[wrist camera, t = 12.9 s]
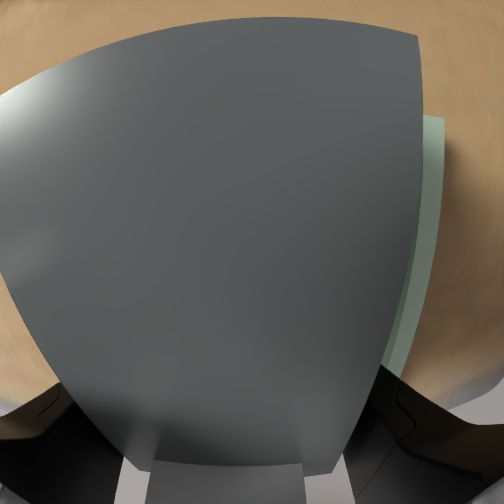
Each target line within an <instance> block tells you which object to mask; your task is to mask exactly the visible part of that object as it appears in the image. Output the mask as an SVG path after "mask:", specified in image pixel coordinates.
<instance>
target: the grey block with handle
mask: <svg viewBox="0 0 504 504" xmlns="http://www.w3.org/2000/svg"><path fill="white" fill-rule="evenodd" d="M422 149H423V90H422V74H421V62H420V52H419V43H418V36H416V35H412V34H409V33H405V32H401V31H396V30H392V29H387V28H382V27H377V26H372V25H366V24H360V23H353V22H346V21H338V20H328V19H316V18H297V17H259V18H240V19H228V20H218V21H210V22H203V23H196V24H190V25H184V26H178V27H173V28H168V29H164V30H159V31H155V32H150V33H146V34H143V35H139V36H135V37H132V38H128V39H125V40H121V41H118V42H115V43H112V44H109V45H106V46H103V47H100V48H97V49H95V50H92V51H89V52H87V53H84V54H81V55H79V56H77V57H74V58H72V59H69V60H67V61H65V62H63V63H60V64H58V65H56V66H54V67H52V68H50V69H48V70H46V71H43V72H41V73H40V74H38V75H36V76H34V77H32V78H30V79H28V80H26V81H25V82H23V83H21V84H19V85H17V86H16V87H14V88H12V89H11V90H9V91H7V92H6V93H4V94H3V95H1V96H0V271H1V274H2V276H3V279H4V281H5V283H6V286H7V288H8V290H9V292H10V295H11V297H12V299H13V301H14V303H15V305H16V307H17V309H18V311H19V313H20V315H21V317H22V319H23V321H24V323H25V325H26V327H27V329H28V330H29V332H30V334H31V336H32V338H33V339H34V341H35V343H36V344H37V346H38V348H39V349H40V351H41V353H42V354H43V356H44V357H45V359H46V361H47V362H48V364H49V365H50V367H51V368H52V370H53V371H54V373H55V374H56V376H57V377H58V379H59V380H60V381H61V383H62V384H63V386H64V387H65V388H66V390H67V391H68V392H69V394H70V395H71V396H72V398H73V399H74V400H75V402H76V403H77V404H78V405H79V407H80V408H81V409H82V410H83V412H84V413H85V414H86V415H87V417H88V418H89V419H90V420H91V421H92V422H93V424H94V425H95V426H96V427H97V428H98V429H99V430H100V432H101V433H102V434H103V435H104V436H105V437H106V438H107V439H108V440H109V441H110V442H111V443H112V444H113V445H114V447H115V448H116V449H117V450H118V451H119V452H120V453H121V454H122V455H123V456H124V457H126V458H127V459H128V460H129V461H130V462H131V463H132V464H133V465H134V466H135V467H136V468H137V469H138V470H140V471H146V472H151V473H150V478H149V483H148V489H147V495H146V500H145V504H306V494H305V485H304V477H306V476H314V475H321V474H328V473H332V471H333V469H334V467H335V466H336V464H337V462H338V460H339V458H340V456H341V454H342V452H343V450H344V449H345V447H346V445H347V443H348V441H349V438H350V436H351V434H352V432H353V430H354V428H355V426H356V424H357V421H358V419H359V417H360V415H361V412H362V410H363V408H364V405H365V403H366V401H367V398H368V396H369V393H370V391H371V388H372V386H373V383H374V380H375V378H376V375H377V372H378V370H379V367H380V364H381V361H382V358H383V355H384V352H385V349H386V346H387V343H388V340H389V337H390V334H391V330H392V327H393V323H394V320H395V316H396V313H397V309H398V305H399V302H400V298H401V294H402V290H403V285H404V281H405V277H406V272H407V267H408V262H409V257H410V252H411V247H412V241H413V235H414V229H415V222H416V215H417V208H418V199H419V190H420V180H421V167H422Z"/></svg>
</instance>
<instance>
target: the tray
mask: <svg viewBox="0 0 504 504" xmlns="http://www.w3.org/2000/svg"><path fill="white" fill-rule="evenodd" d="M444 146H445V137H444V118H440V117H434V116H429V115H423V149H422V167H421V180H420V190H419V199H418V208H417V215H416V222H415V229H414V235H413V241H412V247H411V252H410V257H409V262H408V267H407V272H406V277H405V281H404V285H403V290H402V294H401V298H400V302H399V305H398V309H397V313H396V316H395V320H394V323H393V327H392V330H391V334H390V337H389V340H388V343H387V346H386V349H385V352H384V355H383V358H382V361H381V364H382V365H383V366H384V367H386V368H387V369H388V370H390V371H391V372H392V373H393V374H395V375H396V376H397V377H398V378H400V376H401V373H402V371H403V368H404V365H405V363H406V360H407V357H408V354H409V351H410V348H411V345H412V342H413V339H414V336H415V332H416V329H417V326H418V322H419V319H420V315H421V312H422V308H423V304H424V300H425V296H426V292H427V288H428V283H429V279H430V274H431V269H432V264H433V259H434V253H435V248H436V242H437V235H438V228H439V220H440V212H441V203H442V191H443V177H444Z"/></svg>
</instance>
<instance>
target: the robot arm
mask: <svg viewBox="0 0 504 504" xmlns="http://www.w3.org/2000/svg"><path fill="white" fill-rule="evenodd" d="M342 453H343V456H344V460H345V464H346V468H347V471H348V475H349V479H350V483H351V487H352V491H353V495H354V499H355V504H504V424H495V425H494V424H493V425H476V424H471V423H468V422H466V421H463V420H462V419H460V418H458V417H457V416H455V415H453V414H451V413H450V412H448V411H446V410H445V409H443V408H441V407H440V406H438V405H437V404H435V403H433V402H432V401H430V400H429V399H427V398H426V397H424V396H422V395H421V394H420V393H418V392H417V391H415V390H414V389H413V388H411V387H410V386H409V385H407V384H406V383H405V382H404V381H402V380H401V381H400V378H398V377H397V376H396V375H395V374H393V373H392V372H391V371H390V370H388V369H387V368H386V367H384V366H383V365H382V364H380V367H379V370H378V372H377V375H376V378H375V380H374V383H373V386H372V388H371V391H370V393H369V396H368V398H367V401H366V403H365V405H364V408H363V410H362V412H361V415H360V417H359V419H358V421H357V424H356V426H355V428H354V430H353V432H352V434H351V436H350V438H349V441H348V443H347V445H346V447H345V449H344V450H343V452H342ZM123 458H124V456H123V455H122V454H121V453H120V452H119V451H118V450H117V449H116V448H115V447H114V445H113V444H112V443H111V442H110V441H109V440H108V439H107V438H106V437H105V436H104V435H103V434H102V433H101V432H100V430H99V429H98V428H97V427H96V426H95V425H94V424H93V422H92V421H91V420H90V419H89V418H88V417H87V415H86V414H85V413H84V412H83V410H82V409H81V408H80V407H79V405H78V404H77V403H76V402H75V400H74V399H73V398H72V396H71V395H70V394H69V392H68V391H67V390H66V388H65V387H64V386H63V384H62V383H61V381H60V383H57V384H55V385H54V386H53V387H51V388H50V389H48V390H47V391H45V392H44V393H42V394H41V395H39V396H37V397H36V398H34V399H32V400H31V401H29V402H27V403H26V404H24V405H22V406H21V407H19V408H17V409H15V410H14V411H12V412H10V413H8V414H6V415H4V416H1V417H0V504H114V500H115V493H116V490H117V485H118V480H119V476H120V471H121V467H122V463H123Z"/></svg>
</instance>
